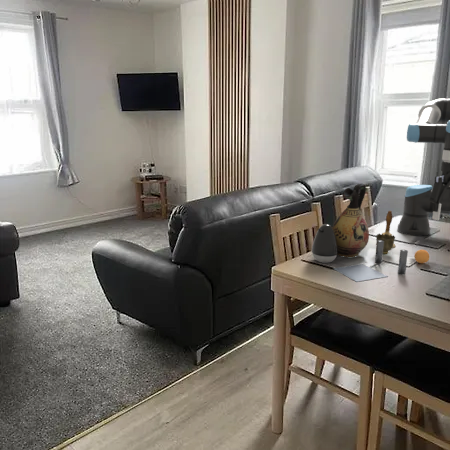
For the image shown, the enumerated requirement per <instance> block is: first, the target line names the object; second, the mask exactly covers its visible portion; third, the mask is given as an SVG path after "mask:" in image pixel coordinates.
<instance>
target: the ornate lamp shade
mask: <svg viewBox="0 0 450 450" xmlns="http://www.w3.org/2000/svg"><path fill="white" fill-rule="evenodd" d="M383 233H384V232H382V233H381V234H380V233H378V234H376V243H377V240H382V241H384V246H383V255H385V256H386V255H388V254H389V252H390V251H391V250H392V249H393V248H392V247H393V244H395V238H396V236H395V235H394V234H392V235H390V236H389V234H385V235H383ZM383 255H382V256H383Z"/></svg>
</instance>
